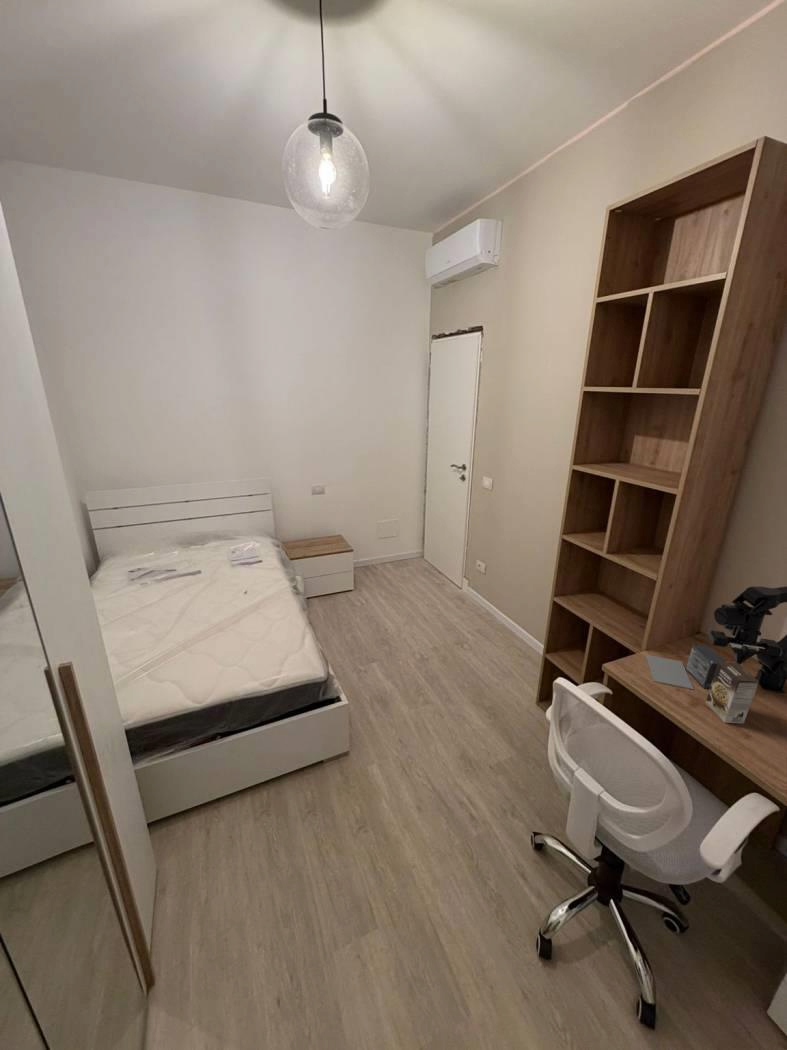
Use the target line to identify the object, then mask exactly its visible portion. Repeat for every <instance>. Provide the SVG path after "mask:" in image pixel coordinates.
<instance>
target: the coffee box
mask: <svg viewBox="0 0 787 1050" xmlns="http://www.w3.org/2000/svg"><path fill="white" fill-rule="evenodd" d="M758 685H759V681H758V680H757V679H756V678H755V676H754V675H752V674H751V673H750V672H748V670H746V669H745V668H744V667H743V666H742V664H740V665H739V664H738V663H735V662H732V661H731V662H728V661H726V662H718V664H717V667H716V670H715V674H714V677H713V680H712V683H711V687H710V688H709V691H708V694H707V697H706V699H705V700H706V701H705V704H706V705H707V706H708V707H709V708H710V709H711V710H712V711H713V713H715V714H716V715H717V716H718V717H719V718H720V719H721V721H722V722H724V723H725V724H745V721H746V719H747V715H748V713H749V709H750V708H751V705H752V702H753V700H754V699H753V698H754V696H755V694H756V691H757V688H758Z"/></svg>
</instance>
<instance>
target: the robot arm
mask: <svg viewBox="0 0 787 1050" xmlns="http://www.w3.org/2000/svg"><path fill="white" fill-rule="evenodd" d="M745 602H746V603H747V604H746V603H745ZM731 603H732V605H731V604H722V605H721V607H717V608H716V609H715V610H714V612H713V617H714V620H715V621H716V623H717V625H720V626H722V628H723V629H726V630H727V631H728V632H730V634H731V636H733V637H731V636H727V635H726V634H725V632H724V631H720V630H719V631H718V630H711V631H709V632H708V638H709V641H711V642H710V643H711V644H712V645H713V646H716V647H723V648H726V647H728V646H729V647H730V649H731V650H732V651H733V654H734V655H733V656H734V661H735V662H734V663H738V664H739V665H742V663H743V664H744V662H746V661H747V660H748V659H750V658H751V657H753V656H755V655H756V658H757V661H758V664H760V665H761V667H760V669H758V670H757V673H756V675H755V676H754V678H756V679H757V680H758V681H759V683H758V685H759V687H760V688H761V689H762V690H768V691H772V692H778V693H783V694H785V693H786V691H785V689H784V687H785V684H786V682H787V634H786V635H785V636H783V637H782V638H781V639H780V640H778V641H776V640H774V639H769V638H768V639H767V638H760V640H759V641H757V640H758V637H759V636H760V637H761V636H762V632H761V628H762V626H763V623H764V619H765V616H772V615H773V612H772V611H771V610H773V609H775V608H777V607H778V606H779V605H781V604H784V603H787V586H780V587H766V586H749V587H747V588H746V589H745V590H744V591H743V592H741V594H739V595H738V596H736V598H734V599H733V600H732V601H731ZM749 605H751V606H749Z"/></svg>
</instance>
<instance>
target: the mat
mask: <svg viewBox="0 0 787 1050" xmlns="http://www.w3.org/2000/svg"><path fill="white" fill-rule="evenodd" d="M645 655H646V656H645V658H647V659H646V661H648V662H647V664H649V665H648V667H650V668H649V670H650V673H651V674H650V675H651V677H652V680H653V682H654V683H658V684H663V685H668V686H671V687H672V686H673V687H678V688H682V689H687V690H691V691H694V690H695V688H694V686H693V683H692V681H691V679H690V676H689V675H688V674H689V673H688V672H687V671H686V670H685V668H686V667H685V666H684V664H683V661H681V660H675V659H670V658H664V657H661V656H660V657H659V656H654V655H649V654H645Z"/></svg>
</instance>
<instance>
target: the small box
mask: <svg viewBox="0 0 787 1050" xmlns="http://www.w3.org/2000/svg"><path fill="white" fill-rule="evenodd" d="M718 662H727V661H726V660H725V659H724V658H723V657H722V656H720V655H719V654H718V653H717V652H716V651H715V650H714V649H712V647H710V646H708V645H691V648H690V652H689V655H688V659H687V662H686V665H685V667H684V668H685V670H686V672H687V674H689V675H690V676H691V677H692V678H693V679H694V680H695V681H696V682H697V683H698V684H699V685H700V687H702V688H703V689H710V687H711V683H712V680H713V677H714V674H715V670H716V667H717V664H718Z"/></svg>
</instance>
